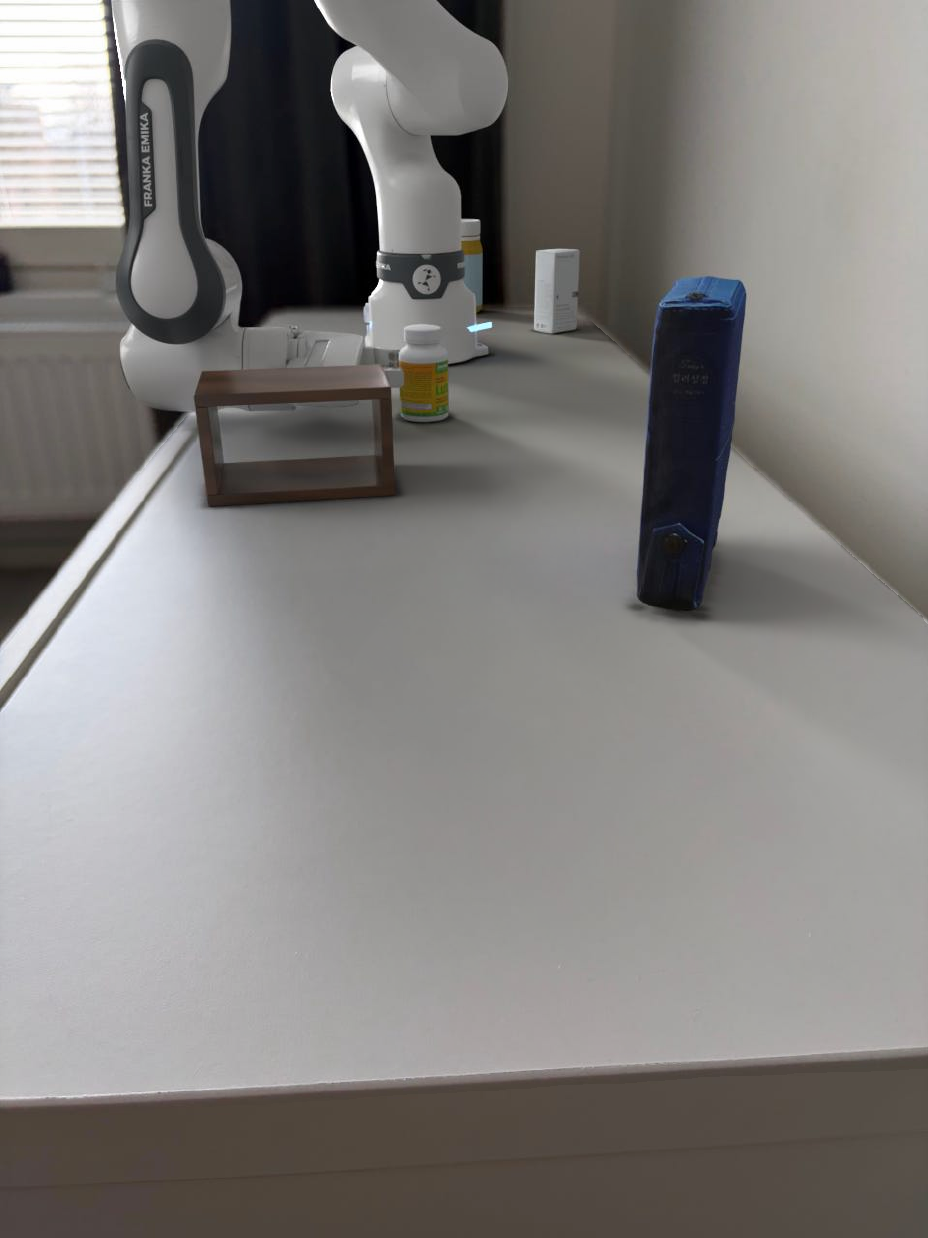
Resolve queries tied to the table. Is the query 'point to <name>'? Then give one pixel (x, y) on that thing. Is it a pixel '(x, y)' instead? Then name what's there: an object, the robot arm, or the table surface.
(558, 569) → the table surface
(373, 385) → the shelf
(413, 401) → the supplement bottle
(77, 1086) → the table surface
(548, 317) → the cosmetic box
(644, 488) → the book
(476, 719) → the table surface
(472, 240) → the bottle
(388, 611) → the table surface
